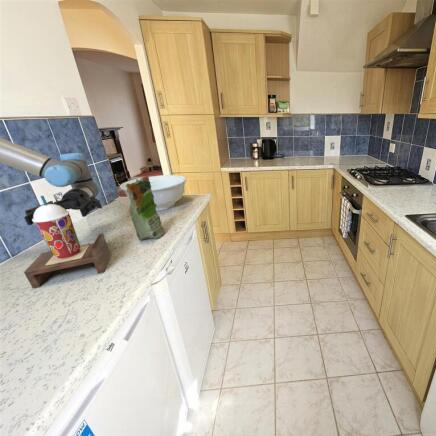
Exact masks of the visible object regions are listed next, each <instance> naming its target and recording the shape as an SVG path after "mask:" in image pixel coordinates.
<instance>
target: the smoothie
mask: <svg viewBox="0 0 436 436" xmlns="http://www.w3.org/2000/svg"><path fill="white" fill-rule="evenodd" d="M40 198H41V202H42V203H43V204H44V205H43V204H41V205H42V206H40V205H39V206H40V207H39V208H37V209H36V210H35V212H34V215H33V219H32V221H33V222H34V223H33V224H34V226H35V228H36V229H37V230H38V232H39V233H40V236H41V237H42V239H43V241H44V242H45V243H46V246H47V247H48V248H49V250H50V251H51V252H52V253H53V255H54V256H56V257H57V258H59V259H63V258H69V257H72V256H74V255H76V254H78V253H79V252H80V246H81V244H80V241H79V238H78V235H77V232H76V229H75V226H74V224H73V220H72V218H71V214H70V212H69V210H67V209H66V210H65V209H64V208H63V207H61V206H59V205H55V204H47V201H46V198H45V196H44V195H40Z"/></svg>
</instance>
